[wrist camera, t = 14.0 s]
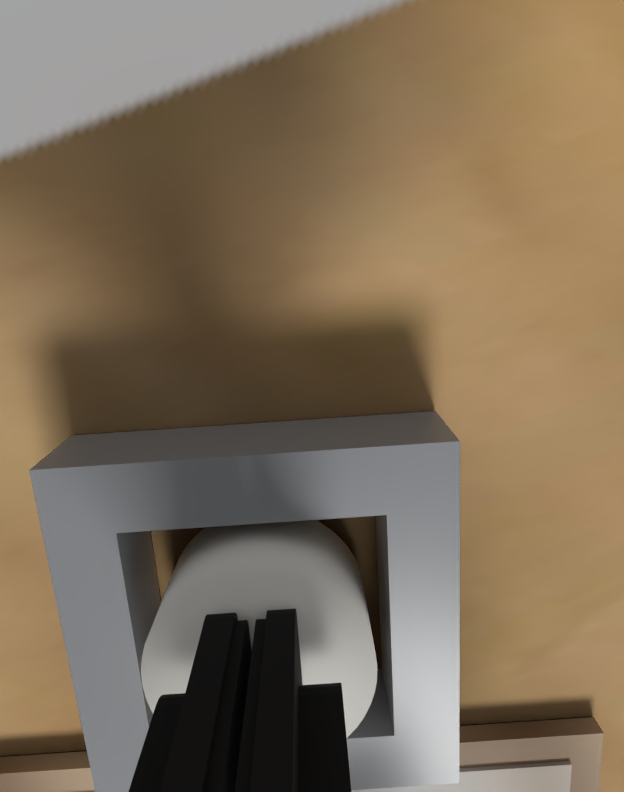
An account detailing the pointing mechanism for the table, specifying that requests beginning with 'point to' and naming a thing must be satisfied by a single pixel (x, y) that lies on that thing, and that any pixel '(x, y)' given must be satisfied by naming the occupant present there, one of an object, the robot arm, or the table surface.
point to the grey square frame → (254, 504)
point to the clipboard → (478, 786)
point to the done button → (268, 606)
